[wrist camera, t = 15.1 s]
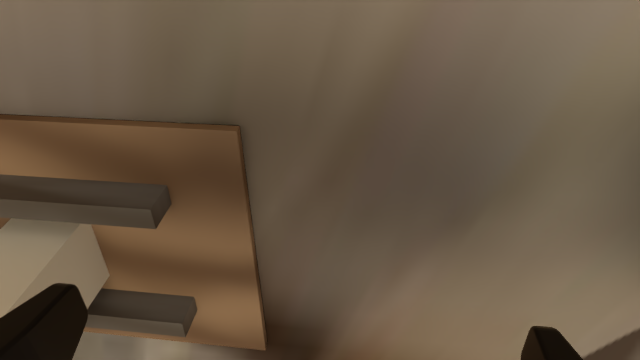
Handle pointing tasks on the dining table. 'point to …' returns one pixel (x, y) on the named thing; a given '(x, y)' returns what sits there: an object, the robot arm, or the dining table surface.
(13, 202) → the brown flat board
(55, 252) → the cream square-faced block
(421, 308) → the dining table surface
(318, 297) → the dining table surface
